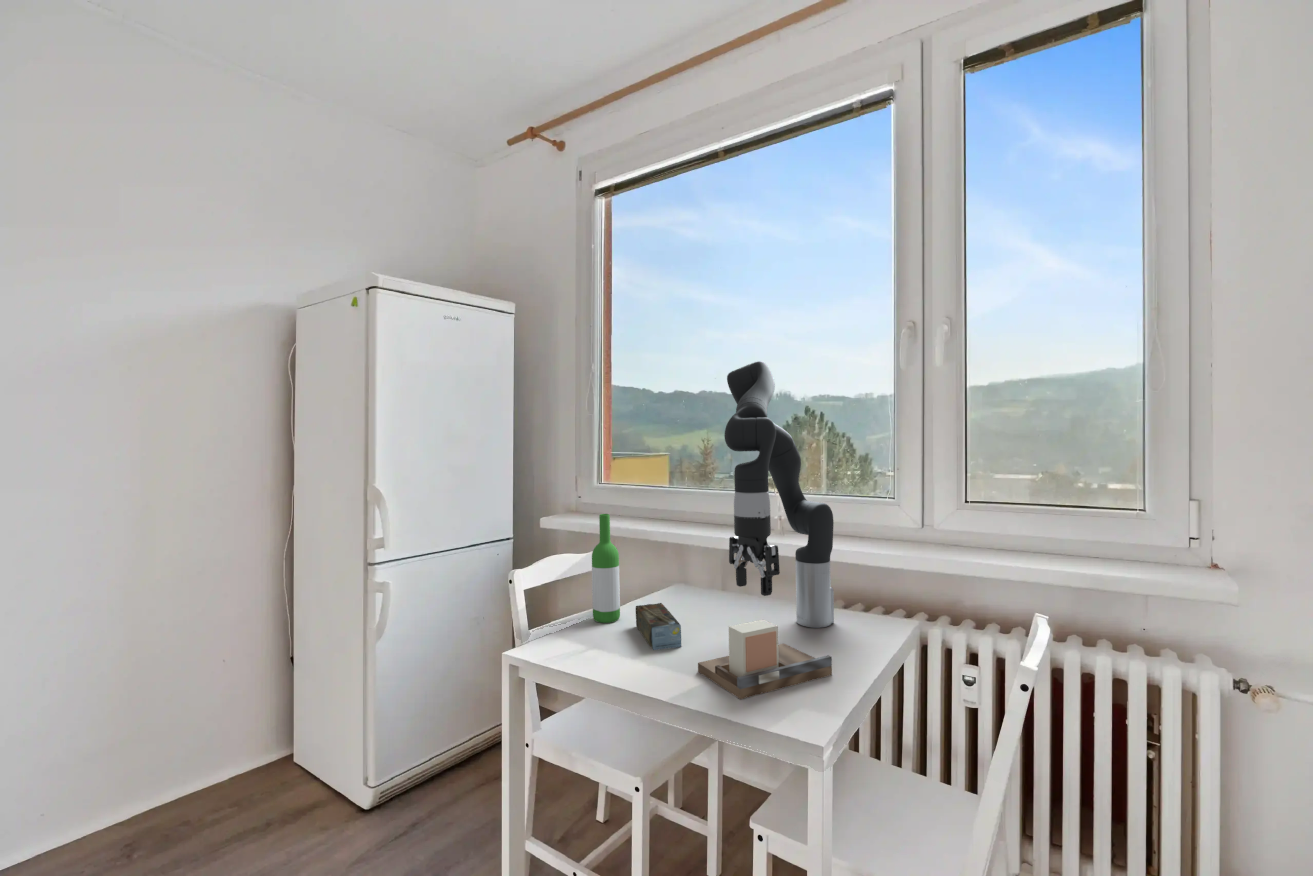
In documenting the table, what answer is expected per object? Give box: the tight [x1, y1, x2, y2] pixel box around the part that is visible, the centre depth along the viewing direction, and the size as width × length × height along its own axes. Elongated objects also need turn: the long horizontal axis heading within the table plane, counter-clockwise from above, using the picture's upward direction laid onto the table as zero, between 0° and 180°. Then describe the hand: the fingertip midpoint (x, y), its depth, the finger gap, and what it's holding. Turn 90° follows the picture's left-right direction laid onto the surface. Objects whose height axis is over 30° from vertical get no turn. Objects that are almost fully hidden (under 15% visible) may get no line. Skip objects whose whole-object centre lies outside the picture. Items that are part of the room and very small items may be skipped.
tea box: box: [728, 619, 779, 677], centre depth 127 cm, size 5×9×10 cm, turn 118°
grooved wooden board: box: [697, 643, 833, 700], centre depth 132 cm, size 24×16×4 cm
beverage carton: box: [635, 602, 682, 651], centre depth 158 cm, size 8×19×7 cm, turn 14°
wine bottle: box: [591, 513, 621, 624], centre depth 172 cm, size 8×8×30 cm
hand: (753, 590), depth 127 cm, fingers open, 8 cm apart
